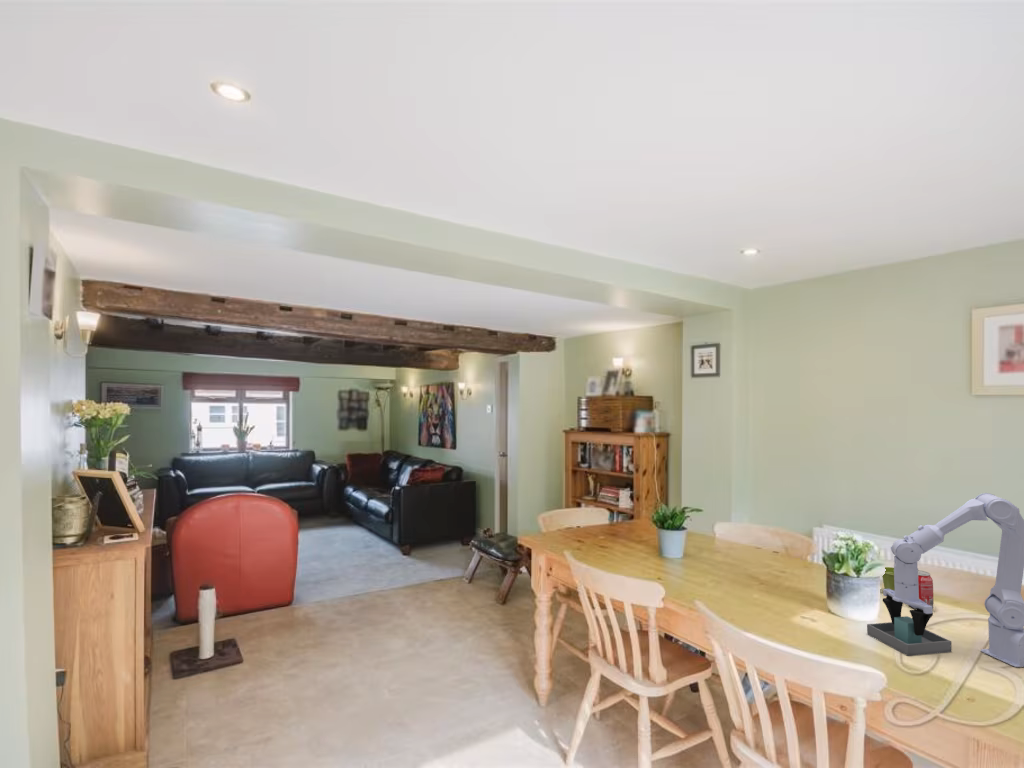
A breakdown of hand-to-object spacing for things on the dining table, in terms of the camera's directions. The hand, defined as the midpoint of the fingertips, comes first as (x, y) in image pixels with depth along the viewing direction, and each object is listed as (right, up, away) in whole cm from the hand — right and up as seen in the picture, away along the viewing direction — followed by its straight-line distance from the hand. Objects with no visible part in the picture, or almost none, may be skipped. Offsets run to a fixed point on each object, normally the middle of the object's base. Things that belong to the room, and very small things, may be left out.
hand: (907, 629), depth 157 cm
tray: (0, -4, 0) cm, 4 cm away
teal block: (0, -3, 0) cm, 3 cm away
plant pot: (+23, -5, +38) cm, 45 cm away
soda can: (+23, -5, +26) cm, 35 cm away
